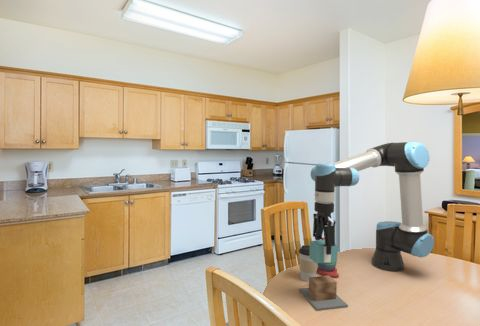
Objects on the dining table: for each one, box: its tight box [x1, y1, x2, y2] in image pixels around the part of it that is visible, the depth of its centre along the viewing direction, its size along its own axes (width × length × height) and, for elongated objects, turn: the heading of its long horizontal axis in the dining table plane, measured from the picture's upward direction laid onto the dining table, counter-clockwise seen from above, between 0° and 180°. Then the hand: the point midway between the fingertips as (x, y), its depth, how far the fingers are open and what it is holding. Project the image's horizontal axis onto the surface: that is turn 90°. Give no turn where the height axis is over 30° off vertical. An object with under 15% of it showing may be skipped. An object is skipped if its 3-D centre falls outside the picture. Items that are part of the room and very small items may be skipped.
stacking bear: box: [316, 237, 340, 279], centre depth 141 cm, size 11×10×18 cm
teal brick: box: [309, 239, 338, 263], centre depth 116 cm, size 9×6×7 cm, turn 103°
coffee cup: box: [298, 245, 318, 283], centre depth 135 cm, size 9×9×15 cm
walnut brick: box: [308, 275, 338, 301], centre depth 117 cm, size 9×6×7 cm, turn 102°
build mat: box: [298, 287, 349, 312], centre depth 117 cm, size 13×16×1 cm
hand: (322, 258), depth 116 cm, fingers closed on teal brick, 6 cm apart
